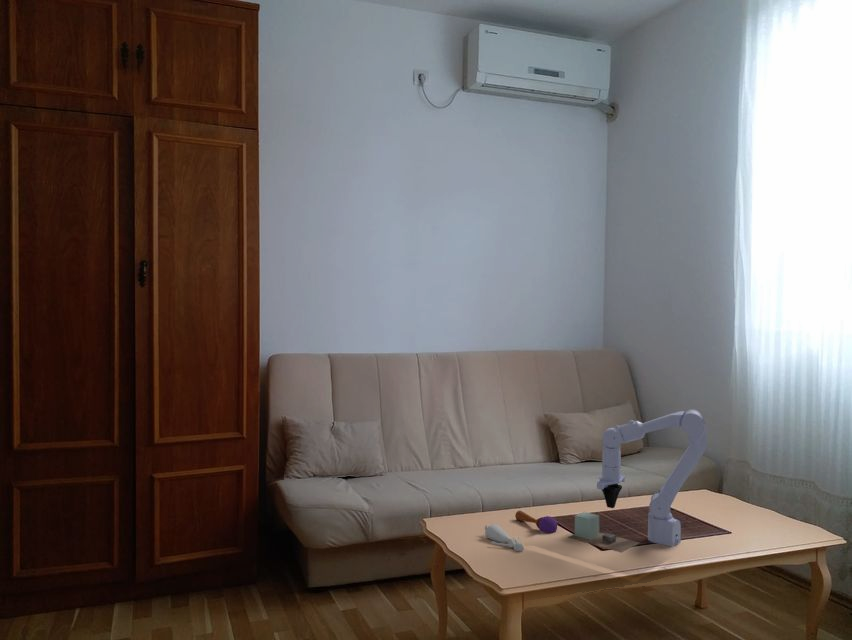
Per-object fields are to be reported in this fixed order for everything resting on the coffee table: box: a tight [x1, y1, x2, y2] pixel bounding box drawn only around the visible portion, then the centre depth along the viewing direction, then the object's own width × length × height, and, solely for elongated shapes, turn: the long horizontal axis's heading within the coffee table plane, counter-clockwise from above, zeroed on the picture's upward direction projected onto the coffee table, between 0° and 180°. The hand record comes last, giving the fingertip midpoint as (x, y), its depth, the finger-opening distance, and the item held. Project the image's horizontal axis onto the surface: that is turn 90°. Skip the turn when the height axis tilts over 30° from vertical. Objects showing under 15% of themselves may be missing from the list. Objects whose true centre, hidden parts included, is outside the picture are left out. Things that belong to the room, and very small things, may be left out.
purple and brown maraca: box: [514, 510, 558, 534], centre depth 237 cm, size 6×6×20 cm
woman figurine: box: [484, 523, 525, 552], centre depth 222 cm, size 12×4×18 cm
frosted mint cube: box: [574, 511, 600, 540], centre depth 226 cm, size 6×6×6 cm
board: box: [567, 531, 641, 553], centre depth 222 cm, size 19×12×6 cm, turn 46°
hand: (610, 507), depth 228 cm, fingers closed
